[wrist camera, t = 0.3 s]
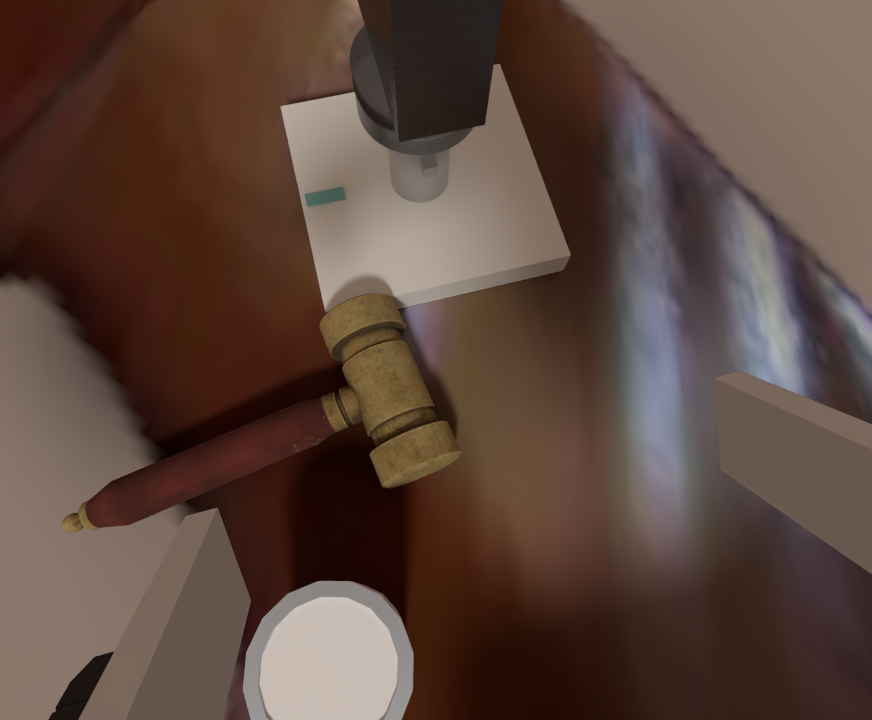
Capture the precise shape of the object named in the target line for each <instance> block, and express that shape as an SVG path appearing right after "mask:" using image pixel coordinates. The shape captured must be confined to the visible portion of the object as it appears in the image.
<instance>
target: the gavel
mask: <svg viewBox="0 0 872 720" xmlns="http://www.w3.org/2000/svg"><path fill="white" fill-rule="evenodd" d="M320 329H321V332H322V335H323V337H324V340H325V342H326V345H327V347H328V350H329V352H330V355H331V357H332V358H333V359H336V360H341V361H342V363H343V365H344V366H343V368H342V370H343V373H344V375H345V378H346V380H347V383H348V385H347V386H344V387H342V388H340V389H339V392H338V393H335V392H332V393H329V394H327V395H324V396H322V397H318V398H314V399H310V400H306V401H302V402H298V403H296V404H293V405H291V406H289V407H286V408H284V409H282V410H279V411H277V412H275V413H272V414H270V415H267V416H265V417H263V418H260V419H258V420H256V421H253V422H251V423H248V424H246V425H244V426H241V427H239V428H237V429H234V430H232V431H230V432H227V433H225V434H222V435H220V436H218V437H215V438H213V439H211V440H208V441H206V442H203V443H201V444H199V445H196V446H194V447H192V448H189V449H187V450H184V451H182V452H180V453H177V454H175V455H173V456H170V457H168V458H166V459H163V460H161V461H158V462H156V463H154V464H151V465H149V466H147V467H144V468H142V469H140V470H137V471H135V472H132V473H130V474H128V475H125V476H123V477H121V478H119V479H116V480H113V481H111V482H110V483H109V484H108V485H107V486H105V487H104V488H103V489H102V490H101V491H99V492H98V493H97V494H96V495H95V496H94V497H93V498H91V499H90V500H89V501H87V502H85V503H83V504H82V505H81V506H80V508H79V511H78V513H72V514H70V515H68V516H67V517H65V518H64V520H63V521H62V527H63V529H64V530H65V531H66V532H69V533H73V532H77V531H79V530H81V529H82V528H83V527H85V528H87V529H90V530H95V529H98V528H101V527H112V526H123V525H130V524H133V523H135V522H137V521H140V520H142V519H144V518H147V517H149V516H151V515H154V514H156V513H158V512H161V511H163V510H165V509H168V508H170V507H172V506H175V505H177V504H179V503H182V502H184V501H186V500H189V499H191V498H193V497H196V496H198V495H200V494H203V493H205V492H207V491H210V490H212V489H214V488H217V487H219V486H221V485H224V484H226V483H228V482H231V481H233V480H235V479H238V478H240V477H242V476H245V475H247V474H249V473H252V472H254V471H256V470H259V469H261V468H263V467H266V466H268V465H270V464H273V463H275V462H277V461H280V460H282V459H284V458H287V457H289V456H291V455H294V454H296V453H298V452H301V451H303V450H305V449H307V448H310V447H312V446H314V445H317V444H318V443H320V442H322V441H323V440H325V439H326V438H328V437H329V436H331V435H333V434H334V433H336V432H338V431H340V430H342V429H345V428H347V427H349V424H350V423H353V424H354V425H355V424H358V423H360V422H362V421H363V424H364V426H365V429H366V431H367V434H368V436H370V437H372V438H373V441H374V444H375V446H376V449H374V450H373V451H372V452H371V453H370V457H371V460H372V462H373V465H374V468H375V470H376V473H377V475H378V478H379V480H380V483H381V486H382V487H384V488H394V487H398V486H401V485H404V484H407V483H410V482H412V481H415V480H417V479H419V478H421V477H424V476H426V475H428V474H431V473H433V472H435V471H438V470H440V469H442V468H443V467H445V466H447V465H449V464H451V463H452V462H454V461H455V460H456V459H458V457H459V455H460V454H461V451H460V449H459V446H458V444H457V442H456V439H455V437H454V435H453V433H452V430H451V428H450V426H449V424H448V422H447V421H439V422H438V420H437V418H436V415H435V413H434V411H433V410H434V409H435V406H434V404H433V401H432V399H431V397H430V394H429V392H428V390H427V388H426V385H425V383H424V381H423V378H422V376H421V374H420V372H419V369H418V367H417V365H416V362H415V360H414V358H413V356H412V353H411V351H410V349H409V346H408V344H407V343H406V342H404V341H403V340H402V337H401V336H402V335H403V333H404V331H405V329H406V326H405V324H404V321H403V319H402V317H401V315H400V312H399V310H398V308H397V305H396V303H395V301H394V299H393V297H391V296H390V295H387V294H380V293H370V294H364V295H360V296H356V297H354V298H351V299H349V300H346V301H344V302H342V303H340V304H339V305H337V306H336V307H334V308H333V309H332V310H330V311H329V312H328V313H327V314H326V315H325V317H324V318H323V319H322V321H321V323H320Z"/></svg>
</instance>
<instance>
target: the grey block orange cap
mask: <svg viewBox="0 0 872 720" xmlns="http://www.w3.org/2000/svg"><path fill="white" fill-rule="evenodd" d="M358 3H359V6H360V10H361V13H362V17H363V20H364V24H365V25H364V26H363V27H362V29H361V30H360V31H359V32H358V34H357V35H356V37H355V39H354V41H353V44H352V47H351V51H350V66H351V72H352V79H353V85H354V91H355V98H356V104H357V110H358V116H359V119H360V121H361V124H362V125H363V127H364V129H365V130H366V132H367V133H368V134H369V135H370V136H371V137H372V138H373V139H374V140H375V141H377V142H378V143H379V144H381V145H382V146H384V147H386V148H388V149H390V150H393V151H396V152H399V153H403V154H408V155H429V154H435V153H439V152H442V151H445V150H447V149H450V148H451V147H453V146H455V145H457V144H458V143H460V142H461V141H462V140H463V139H464V138H465V137H467V136H468V134H469V133H470V132H471V131H472V129H473V127H477V126H482V125H485V121H486V114H487V107H488V100H489V93H490V86H491V79H492V72H493V65H494V58H495V51H496V44H497V37H498V31H499V24H500V17H501V10H502V3H503V0H358Z"/></svg>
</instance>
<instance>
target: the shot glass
mask: <svg viewBox="0 0 872 720" xmlns="http://www.w3.org/2000/svg"><path fill="white" fill-rule="evenodd" d="M412 691H413V650H412V648H411V645H410V642H409V639H408V636H407V633H406V631H405V628H404V625H403V622H402V619H401V617H400V615H399V613H398V611H397V609H396V608H395V607H394V606H393V605H392V604H391V602H390V601H389V600H388V599H387V598H386V597H385V596H384V595H383V594H382V593H380V592H378V591H376V590H374V589H372V588H369V587H367V586H365V585H362V584H359V583H355V582H352V581H317V582H315V583H312V584H310V585H308V586H305V587H303V588H300V589H298V590H296V591H293V592H291V593H289V594H287V595H286V596H285V597H284V598H283V599H282V600H281V601H280V602H279V603H278V604H277V605H276V606H275V607H274V608H273V609H272V610H271V611H270V612H269V613H268V614H267V615H266V616H265V617H264V618H263V619H262V621H261V623H260V625H259V627H258V629H257V631H256V633H255V635H254V638H253V640H252V642H251V644H250V646H249V648H248V650H247V653H246V663H245V673H244V683H243V692H244V696H245V699H246V703H247V707H248V711H249V714H250V718H251V720H401V719H402V717H403V714H404V712H405V709H406V706H407V704H408V701H409V699H410V696H411V694H412Z"/></svg>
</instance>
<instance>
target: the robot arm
mask: <svg viewBox="0 0 872 720" xmlns="http://www.w3.org/2000/svg"><path fill="white" fill-rule="evenodd" d="M714 386H715V400H716V414H717V428H718V441H719V455H720V469H721V471H723V472H724V473H726V474H727V475H728V476H730V477H731V478H733V479H734V480H736V481H737V482H739V483H740V484H741V485H743V486H744V487H746V488H747V489H749V490H750V491H752V492H753V493H755V494H756V495H757V496H759V497H760V498H762V499H763V500H765V501H766V502H768V503H769V504H770V505H772V506H773V507H775V508H776V509H778V510H779V511H781V512H782V513H784V514H785V515H786V516H788V517H789V518H791V519H792V520H794V521H795V522H797V523H798V524H800V525H801V526H802V527H804V528H805V529H807V530H808V531H810V532H811V533H813V534H814V535H815V536H817V537H818V538H820V539H821V540H823V541H824V542H826V543H827V544H829V545H830V546H831V547H833V548H834V549H836V550H837V551H839V552H840V553H842V554H843V555H844V556H846V557H847V558H849V559H850V560H852V561H853V562H855V563H856V564H858V565H859V566H860V567H862V568H863V569H865V570H866V571H868V572H869V573H871V574H872V424H870V423H868V422H865V421H863V420H860V419H858V418H855V417H853V416H850V415H848V414H845V413H843V412H840V411H838V410H835V409H833V408H830V407H828V406H825V405H823V404H820V403H818V402H816V401H813V400H811V399H808V398H806V397H803V396H801V395H798V394H796V393H793V392H791V391H788V390H786V389H783V388H781V387H778V386H776V385H773V384H771V383H768V382H766V381H764V380H761V379H759V378H756V377H754V376H751V375H749V374H746V373H744V372H741V371H739V372H735V373H732V374H728V375H724V376H720V377H716V378H714ZM250 602H251V600H250V597H249V594H248V591H247V588H246V586H245V583H244V580H243V577H242V575H241V572H240V569H239V566H238V564H237V561H236V558H235V555H234V552H233V550H232V547H231V544H230V541H229V539H228V536H227V533H226V530H225V527H224V525H223V522H222V519H221V516H220V514H219V511H218V508H215V509H211V510H207V511H203V512H199V513H196V514H192V515H188V516H186V517H185V518H184V520H183V522H182V524H181V526H180V528H179V530H178V532H177V534H176V535H175V537H174V539H173V541H172V543H171V545H170V547H169V549H168V551H167V553H166V554H165V557H164V559H163V560H162V562H161V564H160V566H159V568H158V570H157V572H156V573H155V575H154V577H153V579H152V581H151V583H150V585H149V587H148V589H147V591H146V593H145V594H144V596H143V598H142V600H141V602H140V604H139V606H138V608H137V610H136V611H135V614H134V615H133V617H132V619H131V621H130V623H129V625H128V627H127V629H126V631H125V633H124V634H123V636H122V638H121V640H120V642H119V644H118V646H117V648H116V649H115V651H114V652H110V653H107V654H103V655H100V656H96V657H94V658H93V659H92V660H91V661H90V662H89V663H88V664H87V665H86V666H85V667H84V669H83V670H82V671H81V672H80V673H79V674H78V675H77V676H76V677H75V678H74V679H73V680H72V681H71V682H70V684H69V685H68V687H67V689H66V691H65V692H64V694H63V696H62V697H61V699H60V701H59V703H58V705H57V706H56V712H54V713H52V715H51V716H50V718H49V720H222V716H223V712H224V708H225V704H226V700H227V696H228V692H229V688H230V684H231V680H232V676H233V671H234V667H235V663H236V659H237V655H238V651H239V647H240V643H241V639H242V635H243V631H244V627H245V622H246V618H247V614H248V610H249V606H250Z"/></svg>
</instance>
